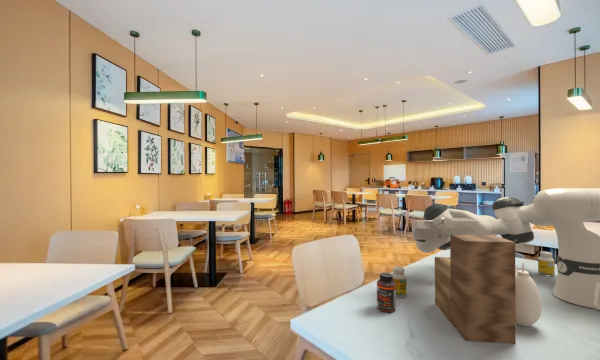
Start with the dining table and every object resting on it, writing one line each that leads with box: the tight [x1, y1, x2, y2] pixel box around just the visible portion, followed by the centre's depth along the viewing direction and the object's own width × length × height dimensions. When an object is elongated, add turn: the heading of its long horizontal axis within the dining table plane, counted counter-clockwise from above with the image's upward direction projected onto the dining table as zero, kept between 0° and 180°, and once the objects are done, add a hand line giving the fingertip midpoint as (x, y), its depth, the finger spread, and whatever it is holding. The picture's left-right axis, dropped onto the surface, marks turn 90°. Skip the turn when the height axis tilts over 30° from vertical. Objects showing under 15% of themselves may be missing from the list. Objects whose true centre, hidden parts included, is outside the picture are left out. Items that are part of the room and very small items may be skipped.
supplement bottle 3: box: [537, 251, 556, 277], centre depth 120 cm, size 5×5×10 cm
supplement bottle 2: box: [391, 266, 408, 298], centre depth 100 cm, size 5×5×10 cm
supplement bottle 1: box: [376, 272, 397, 314], centre depth 88 cm, size 6×6×11 cm
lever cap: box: [440, 217, 478, 230], centre depth 89 cm, size 7×16×2 cm, turn 174°
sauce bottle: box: [515, 262, 543, 327], centre depth 79 cm, size 8×8×18 cm
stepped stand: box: [434, 234, 517, 345], centre depth 80 cm, size 12×21×26 cm, turn 174°
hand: (448, 219), depth 93 cm, fingers closed on lever cap, 3 cm apart
